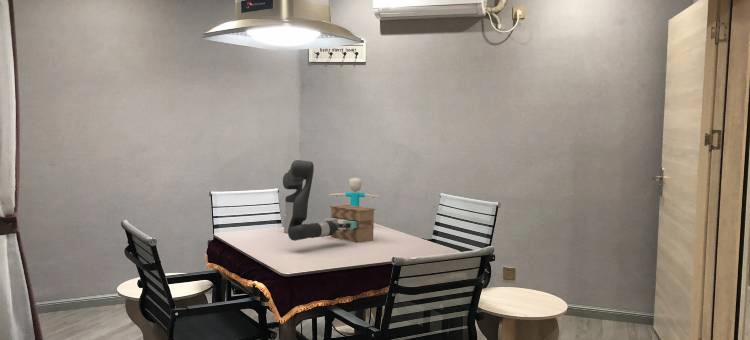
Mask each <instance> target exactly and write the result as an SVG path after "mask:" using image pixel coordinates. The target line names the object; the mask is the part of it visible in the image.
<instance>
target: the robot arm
mask: <svg viewBox="0 0 750 340" xmlns="http://www.w3.org/2000/svg"><path fill="white" fill-rule="evenodd" d="M314 171H315V169H314V163H313V162H312V161H310V160H300V159H297V160H296V159H295V160H293V161H292V163H291V165H290V169H288V171H287V172H285V173H284V175H283V177H282V185H283V188H284V189H285V190H295V191H294V192H293V193H291V194H288V195H286V196H285V199H284V201H285V209H284V211H285V212H284V214H285V215H283V233H286V234H287V235H288V238H289V239H290V240H291V241H295V242H296V241H300V240H305V239H314V238H325V237H331V236H332V235H334V233H335V232H339V231H342V230H343V231H346V230H347V228H350V224H349V223H346V224H340V223H334V222H332V221H324V220H323V221H318V222H311V223H303V222H305V221H306V220H307V218H308V207H309V205H308V204H309V199H310V194H311V189H312V188H311V187H312V184H313V177H314ZM304 181H305V183H304ZM303 183H304V185H303Z"/></svg>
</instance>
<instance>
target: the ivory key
mask: <svg viewBox="0 0 750 340" xmlns="http://www.w3.org/2000/svg"><path fill="white" fill-rule="evenodd" d="M347 221H348V219H344V220H338V223H340V224H346V223H347Z"/></svg>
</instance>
